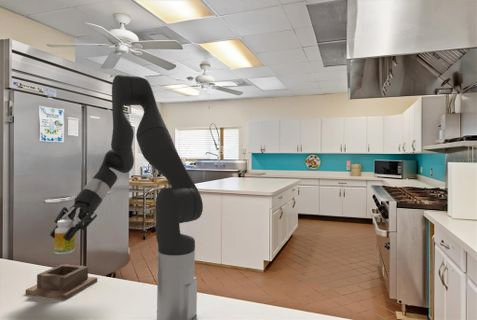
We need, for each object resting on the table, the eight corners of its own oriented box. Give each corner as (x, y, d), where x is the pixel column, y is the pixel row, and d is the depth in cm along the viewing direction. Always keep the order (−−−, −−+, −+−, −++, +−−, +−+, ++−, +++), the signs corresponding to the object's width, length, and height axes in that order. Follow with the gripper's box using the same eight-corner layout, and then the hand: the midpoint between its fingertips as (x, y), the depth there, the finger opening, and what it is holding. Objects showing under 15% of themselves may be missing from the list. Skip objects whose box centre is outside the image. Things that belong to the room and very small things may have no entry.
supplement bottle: (65, 255, 88) (65, 223, 88) (50, 253, 89) (50, 222, 89) (78, 249, 93) (78, 219, 93) (64, 248, 94) (64, 218, 94)
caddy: (97, 281, 96) (97, 265, 96) (65, 299, 83) (66, 281, 83) (61, 276, 99) (61, 261, 99) (25, 293, 86) (25, 276, 86)
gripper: (71, 186, 101) (34, 229, 90) (102, 189, 95) (67, 234, 84) (84, 200, 106) (51, 241, 95) (114, 203, 100) (83, 247, 89)
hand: (59, 238), depth 89 cm, fingers closed on supplement bottle, 5 cm apart
